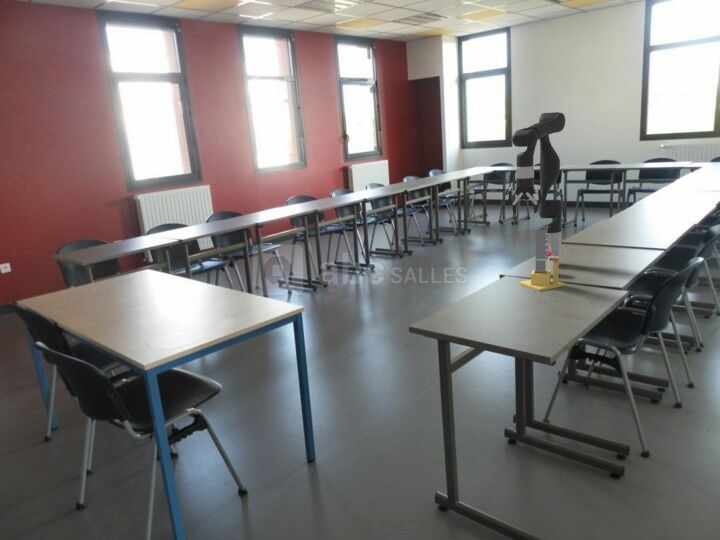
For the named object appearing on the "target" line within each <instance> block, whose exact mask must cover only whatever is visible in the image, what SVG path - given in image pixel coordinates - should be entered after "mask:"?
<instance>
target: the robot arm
mask: <svg viewBox="0 0 720 540" xmlns="http://www.w3.org/2000/svg"><path fill="white" fill-rule="evenodd" d="M565 126H566V115H565V114H564V113H563V112H556V111H555V112H543V113H541V114H540V115H539V119H538V122H537V123H534V124H532V125H530V126H528V127H524V128H521V129H517V130H516V131H515V132H514V133H513V135H512V136H511V142H512V144H513V145H514V147H518V148H523V147H526V150H525V151H522V152H518V153H517V154H516V171H515V182H516V183H515V184H516V185H515V190H512V189H510V190H509V191H508V202H507V203H508V204H509V205H512V213H514V214H517V213H518V211H517V203H518V202H519V201H520V200H522V201H524V200H526V201H529V200H530V201H531V202H532V203H533V214H537V212H538V214H539V215H538V216H539V217H540V219H554V220H552V221H551V222H549V223H547V224H544V225H542V227H541V228H548V229H547V233H546V235H548V238H546V240H548V244H546V246H548V249H546V251H552V255H553V256H559V264H558V265H559V266H561V264H562V216H563V202H562V200H561V199H547V197H548V195H549V192H550V190H551V188H552V186H553V185H554V184H555V182H556V181H557V179H558V178H559V176H560V174H561V169H560V168H561V159H560V156H559V155H558V153H557V151H556V149H554V147H553V145H552V143H551V140H550V135H551V134H557V133H561V132H562V131H564V129H565ZM538 141H539V147H540V148H539V181H540V182H539V189H535V170H534V169H535V168H534V167H535V166H534V155H535V151H536V146H537V144H538ZM535 193H536V195H537V196H538V200H537V199H536V198H535V196H534V194H535ZM514 195H516V196H517V197H516V198H515V200H513V196H514Z"/></svg>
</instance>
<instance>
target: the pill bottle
mask: <svg viewBox="0 0 720 540" xmlns="http://www.w3.org/2000/svg"><path fill="white" fill-rule="evenodd" d="M546 257H548V260H546V270H551V275H552V276H553V261H549V258H553V257H554V256H553V255H552V251H548V255H546Z"/></svg>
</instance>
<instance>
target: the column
mask: <svg viewBox="0 0 720 540" xmlns="http://www.w3.org/2000/svg"><path fill="white" fill-rule="evenodd" d="M547 229H548V228H542V227H535V228H534V233H535V259H534V260H535V270H536V272H545V271H546V260H548V257H546V255H548V251H546V249H548V246H546V244H548V240H546V238H548V235H546V233H547Z"/></svg>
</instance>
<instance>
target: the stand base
mask: <svg viewBox="0 0 720 540" xmlns="http://www.w3.org/2000/svg"><path fill="white" fill-rule="evenodd" d="M549 261H553V275H552V276H551V270H546V271H545V272H536V269H532V271H531V273H530V279H526V280H521V281H518V282H517V285H519V286H522V287H526V288H528V289H531V290H534V291H537V292H542V291H545V290H546V291H547V290H551V289H555V288H560V287H564V286H565V283H563V282H561V281H559V266H558V264H559V256H554V257H553V258H549ZM551 277H552V278H551Z"/></svg>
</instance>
